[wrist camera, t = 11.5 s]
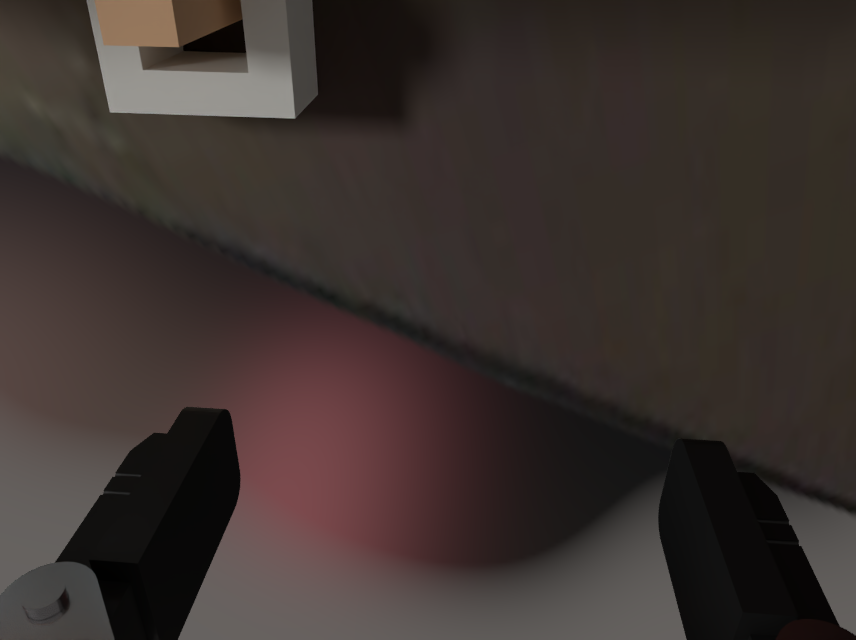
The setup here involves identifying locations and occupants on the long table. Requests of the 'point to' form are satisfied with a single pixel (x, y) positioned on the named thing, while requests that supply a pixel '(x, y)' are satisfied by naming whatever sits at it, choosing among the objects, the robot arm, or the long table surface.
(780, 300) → the long table surface
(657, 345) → the long table surface
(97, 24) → the socket
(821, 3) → the long table surface
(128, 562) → the robot arm
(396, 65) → the long table surface
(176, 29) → the peg
